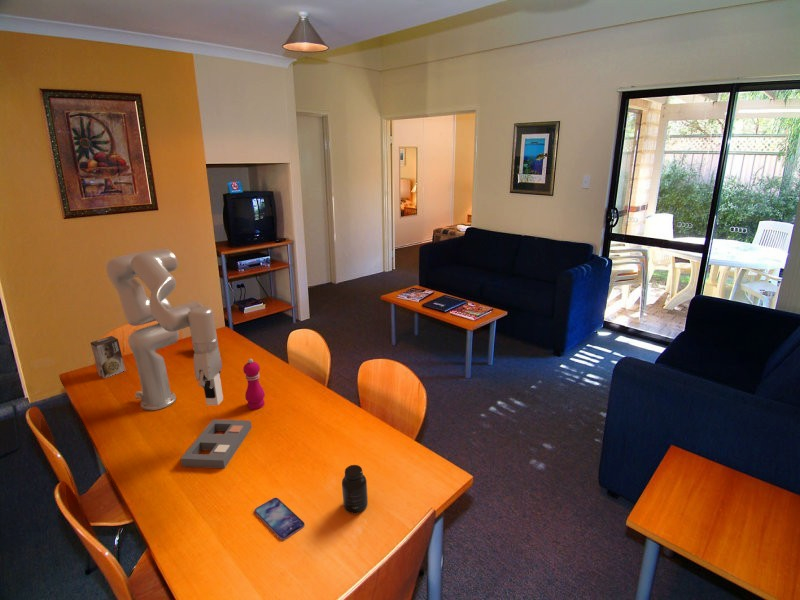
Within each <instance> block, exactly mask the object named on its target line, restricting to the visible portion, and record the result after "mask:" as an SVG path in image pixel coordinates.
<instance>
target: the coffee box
mask: <svg viewBox="0 0 800 600" xmlns="http://www.w3.org/2000/svg"><path fill="white" fill-rule="evenodd" d="M90 346H91V347H90V348H91V350H92V354H93V358H94V361H95V366H96V369H97V373H98V376H99V377H101V376H102V377H101V378H103V379H104V378H105V379H107V377H108V378H110V376H111V377H113V376H116V375H119V374H121V373H124V372H126V367H125V363H124V358H123V354H122V352H121V351H122V350H121V347H120V342H119V339H118V338H117V337H115V336H112V335H110V336H107V337H104V338H100V339H97V340H94V341H92V342H90ZM123 371H124V372H123ZM115 374H116V375H115ZM112 375H113V376H112Z"/></svg>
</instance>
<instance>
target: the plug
mask: <svg viewBox="0 0 800 600" xmlns="http://www.w3.org/2000/svg"><path fill="white" fill-rule="evenodd" d="M220 377H221V373H220V374H219V373H217V375H216V376H215V377H214V378H212V387H214V391H215V398H206V397H205V398H204V399H205V404H206V406H219V405H220V404H221V403H222V402H223V400H224V395H223V390H222V389H223V388H222V382H221V381H222V380H221V379H220ZM205 378H206V377H205ZM206 383H208V384H209V381H206ZM203 392H204V393H205V391H203Z"/></svg>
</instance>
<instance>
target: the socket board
mask: <svg viewBox="0 0 800 600" xmlns="http://www.w3.org/2000/svg"><path fill="white" fill-rule="evenodd" d="M251 430H252V422H251V420H245V419H244V420H242V419H217V418H216V419H214V418H213V419H212V420H211V421H210V422H209V423H208V424H207V426H206V427H205V428H204V429H203V431H202V432H201V433H200V434H199V436H198V437H197V438H196V439H195V440H194V442H193V443H192V444H191V446H189V448H188V449H187V450H186V451H185V453H184V454H183V455H182V456H181V458H180V462H181V467H187V468H188V467H189V468H208V469H209V468H210V469H211V468H212V469H225V468H226V467H227V466H228V464H229V463H230V461H231V460H232V458H233V457H234V455H235V454H236V452H237V451H238V449H240V448H239V447H240V446H241V445H242V443H243V442H244V440H245V438H246V437H247V435H248V434H249V432H250V431H251ZM216 432H224V433H216ZM201 451H210V452H209V453H208V454H205V453H204V454H201V453H200V452H201Z"/></svg>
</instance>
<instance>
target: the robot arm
mask: <svg viewBox="0 0 800 600" xmlns="http://www.w3.org/2000/svg"><path fill="white" fill-rule="evenodd" d="M178 265H179V261H178V258H177V256H176V254H175V253H174V252H172V251H171V250H170V249H167V248H159V249H151V250H145V251H141V252H135V253H134V252H133V253H130V254H124V255H120V256H116V257H113V258H111V259H109V260H108V261H107V263H106V268H105V269H106V274H107V277H108V279H109V281H110V282H111V284H112V285H113V286H114V288H115V290H116V291H117V294H118V297H119V300H120V304H121V306H122V310H123V313H124V316H125V318H126V321H127V322H128V324H129V325H131V327H137V326H143V325H146V324H149V323H152V322H155V321H156V322H157V323H155V324H152V325H147V326H145V327H142V328H139V329H136V330H134V331H132V332H131V333H130V334H129V336H128V345H129V348H130V349H131V351H132V355H133V357H134V359H135V360H134V361H135V365H136V369H137V373H138V376H139V382H140V387H141V391H140V390H137V391H136V392H135V399H139V400H141V401H140V408H141V409H143V410H146V411H158V410H162V409H165V408H167V407H169V406H171V405H172V404H174V403H175V402H176V400H177V395H176V394H175V393H174V392H171V387H170V382H169V375H168V372H167V366H166V362H165V358H164V357H163V356H162V355H161V354H159V353H158V352H156V351H157V350H160V349H163V348H166V347H168V346H171V345H174V344H175V343H177V342H178V340H179V338H180V333H179V332H180V330H184V329H185V328H188V327H189V330H190V337H191V342H192V348H193V351H194V352H193V367H194V369H193V370H194V376H195V380H196V381H197V382H198V381H199V382H198V386H199V387H201V388H202V389H203V390H204V391H205V392H204V391H203V392H204V396H205V397H206V398H215V391H214V387H212V378H214V377H215V376H216V375H217V373H219V374H220V375H221V370H222V369H223V362H222V357H221V352H220V349H219V342H218V335H217V330H216V328H217V327H216V323H215V317H214V311H213V308H211V307H209V306H204V305H203V304H202V302H198V301H191V302H187V303H184V304H180V305H176V306H173V307H172V304H171V303H170V300H169V299H168V296H169V295H170V294H171V293H172V292H174V290H175V289H176V287H177V280H176V279H175V277H174V276H173V275H172V274H171V273H170V272H174V271H176V269H178ZM136 278H139V279H140V281H142V283H141V282H140V281H138V280H137V279H136ZM143 284H144V285H145V287H147V289H148V290H149V291H150V292H151V293H150V295H149V296H147V293H146V291H145V287H144V285H143ZM205 377H206V378H205ZM220 380H221V376H220ZM206 381H209V384H208V383H206ZM206 398H205V399H206Z"/></svg>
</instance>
